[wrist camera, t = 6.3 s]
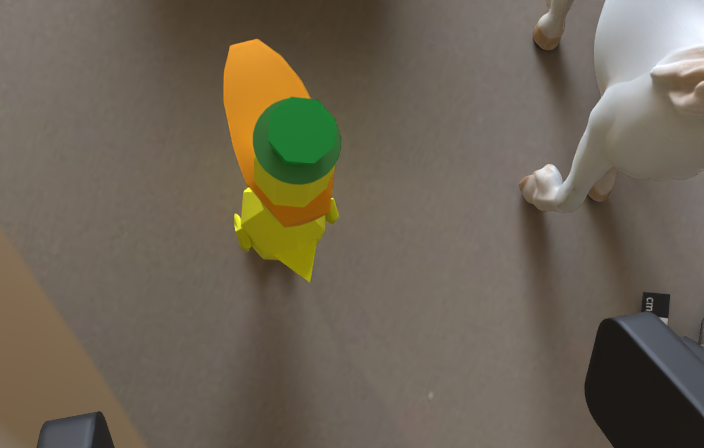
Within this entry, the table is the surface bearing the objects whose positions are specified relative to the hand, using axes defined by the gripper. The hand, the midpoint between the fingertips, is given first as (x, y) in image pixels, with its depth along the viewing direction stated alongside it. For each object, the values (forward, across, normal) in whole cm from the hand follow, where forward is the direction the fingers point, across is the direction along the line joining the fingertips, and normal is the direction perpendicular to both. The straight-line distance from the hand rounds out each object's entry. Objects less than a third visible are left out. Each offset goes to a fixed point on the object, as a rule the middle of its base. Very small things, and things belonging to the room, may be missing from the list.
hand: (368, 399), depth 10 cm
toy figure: (+15, 0, +6) cm, 16 cm away
